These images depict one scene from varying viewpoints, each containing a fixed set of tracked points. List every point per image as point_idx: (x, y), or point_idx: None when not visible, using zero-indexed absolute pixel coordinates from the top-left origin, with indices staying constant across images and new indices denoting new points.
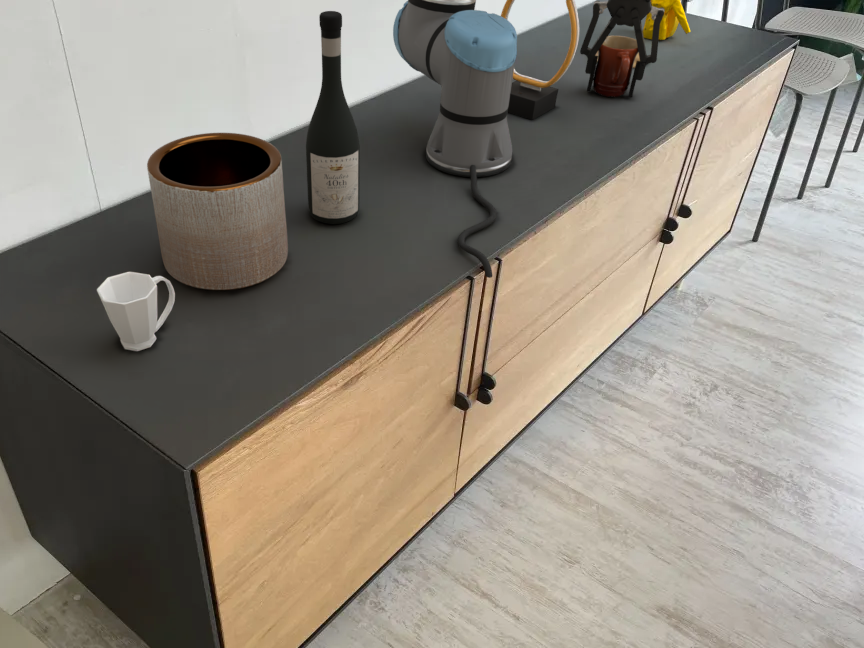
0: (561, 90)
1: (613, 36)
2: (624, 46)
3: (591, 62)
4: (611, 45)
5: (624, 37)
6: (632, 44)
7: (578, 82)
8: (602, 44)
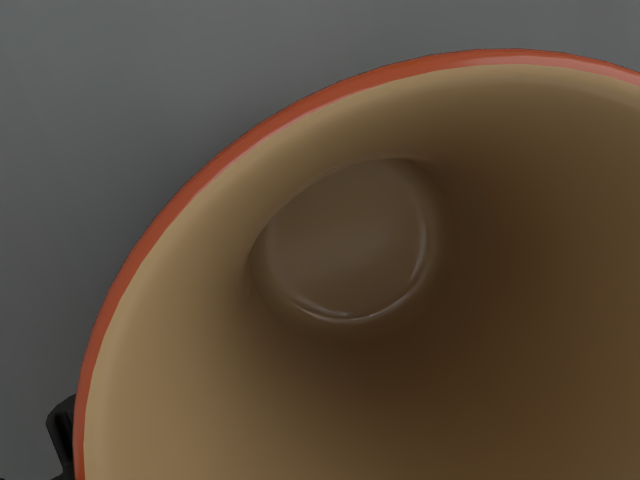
0: (38, 365)
1: (276, 151)
2: (485, 143)
3: None
4: (283, 195)
5: (503, 81)
6: (635, 172)
7: (73, 146)
8: (170, 367)
